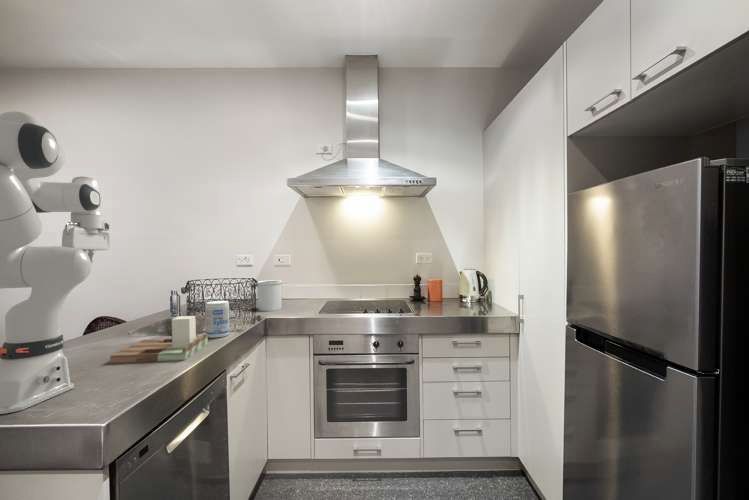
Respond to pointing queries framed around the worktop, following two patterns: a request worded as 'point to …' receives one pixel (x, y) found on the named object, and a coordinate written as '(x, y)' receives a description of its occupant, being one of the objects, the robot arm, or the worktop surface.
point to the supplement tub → (217, 318)
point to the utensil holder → (269, 295)
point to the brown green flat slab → (158, 351)
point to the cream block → (183, 331)
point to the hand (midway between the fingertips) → (87, 263)
